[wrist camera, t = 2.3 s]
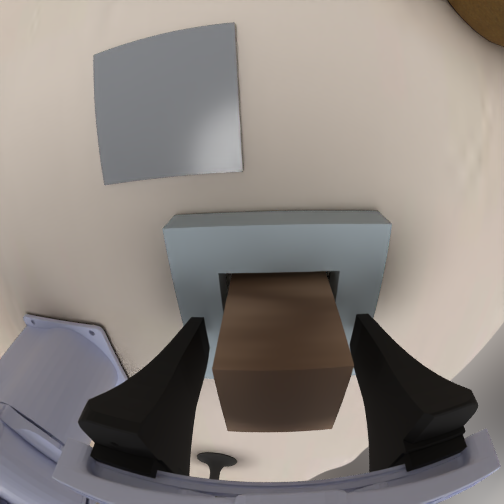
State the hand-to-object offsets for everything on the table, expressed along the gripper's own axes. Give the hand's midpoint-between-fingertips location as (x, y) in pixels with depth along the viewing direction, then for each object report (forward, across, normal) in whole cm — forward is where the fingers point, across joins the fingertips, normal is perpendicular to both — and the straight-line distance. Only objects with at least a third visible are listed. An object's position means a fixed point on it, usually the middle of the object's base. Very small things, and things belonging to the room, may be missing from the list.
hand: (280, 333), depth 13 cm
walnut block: (+3, 0, 0) cm, 3 cm away
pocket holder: (+3, 0, 0) cm, 3 cm away
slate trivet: (+3, +5, -10) cm, 12 cm away
